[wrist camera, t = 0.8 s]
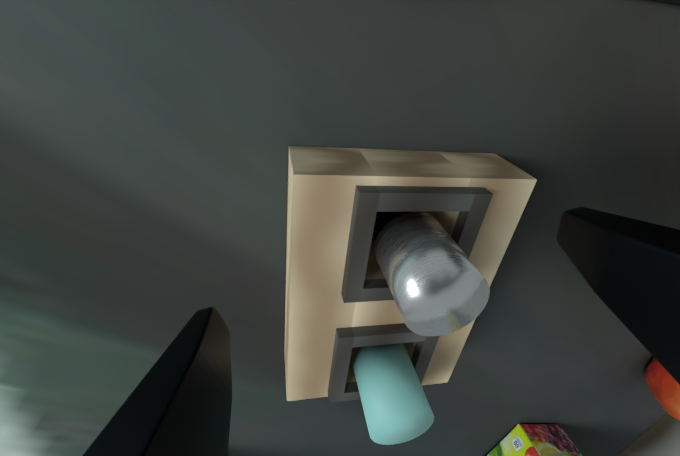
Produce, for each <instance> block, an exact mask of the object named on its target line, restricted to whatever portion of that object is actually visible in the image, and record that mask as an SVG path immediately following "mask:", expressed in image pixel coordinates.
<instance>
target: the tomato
mask: <svg viewBox="0 0 680 456" xmlns="http://www.w3.org/2000/svg"><path fill="white" fill-rule="evenodd" d="M645 379H646V382H647V384H648V386H649V388H650V389H651V391H652V393H653V395H654V397H655V398H656V399H657V401H658V402H659V403H660V404H661V406H662V407H663V408H664V410H665V411H666V412H667V413H668V414H670V415H671V416H672V417H674V418H676V419H677V420H679V421H680V385H679V383H678V382H677V381H676V380H675V379H674V378H673V377H672V376H671V375H670V374H669V373H668V372H667V370H666V369H665V368H664V367H663V366H662V365H661V364H660V363H659V362H658V361H657V360H656V359H655V357H654V358H653V360H652V361H651V363H650V364H649V365H648V367H647V369H646V371H645Z"/></svg>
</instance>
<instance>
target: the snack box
mask: <svg viewBox="0 0 680 456" xmlns="http://www.w3.org/2000/svg"><path fill="white" fill-rule="evenodd" d="M487 456H582V455H581V453H580V452H579V450H578V449H577V448H576V446H575V445H574V444H573V442H572V441H571V440H570V438H569V437H568V436H567V434H566V433H565V431H564V430H563V429H562V427H561V426H560V425H559V424H520V423H519V424H517V426H516V427H515V428H514V429H513V430H512V431H511V432H510V433H509V434H508V435H507V436H506V437H505V438H504V439H503V440H502V441H501V442H500V443H499V444H498V445H497V446H496V447H495V448H494V449H493V450H492V451H491V452H490V453H489V454H488V455H487Z"/></svg>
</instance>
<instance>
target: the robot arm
mask: <svg viewBox="0 0 680 456" xmlns="http://www.w3.org/2000/svg"><path fill="white" fill-rule="evenodd" d="M655 1H661V2H667V3H673V4H680V0H655ZM557 241H558V244H559V246H560V247H561V249H562V250H563V251H564V253H565V254H566V255H567V256H568V258H569V259H570V260H571V262H572V263H573V264H574V266H575V267H576V268H577V270H578V271H579V272H580V274H581V275H582V276H583V278H584V279H585V280H586V282H587V283H588V284H589V286H590V287H591V288H592V289H593V291H594V292H595V293H596V294H597V295H598V297H599V298H600V299H601V300H602V301H603V302H604V303H605V304H606V306H607V307H608V308H609V309H610V310H611V311H612V312H613V313H614V314H615V315H616V316H617V317H618V319H619V320H620V321H621V322H622V323H623V324H624V325H625V326H626V327H627V328H628V329H629V330H630V332H631V333H632V334H633V335H634V336H635V337H636V338H637V339H638V340H639V341H640V342H641V343H642V345H643V346H644V347H645V348H646V349H647V350H648V351H649V352H650V353H651V354H652V355H653V356H654V357H655V359H656V360H657V361H658V362H659V363H660V364H661V365H662V366H663V367H664V368H665V369H666V370H667V372H668V373H669V374H670V375H671V376H672V377H673V378H674V379H675V380H676V381H677V382H678V383H679V385H680V230H678V229H674V228H670V227H665V226H661V225H657V224H653V223H648V222H644V221H640V220H636V219H631V218H627V217H623V216H619V215H614V214H610V213H606V212H601V211H597V210H593V209H589V208H584V207H578V208H574V209H570V210H567V211H565V212H564V213H563V214H562V216H561V220H560V225H559V229H558V234H557ZM231 406H232V371H231V343H230V332H229V328H228V326H227V325H226V323H225V321H224V320H223V318H222V316H221V315H220V313H219V311H218V310H217V309H216V308H215V307H208V308H205V309H201V310H198V311H197V312H196V313H195V314H194V315H193V316H192V318H191V319H190V320H189V321H188V323H187V324H186V325H185V327H184V328H183V329H182V330H181V332H180V333H179V334H178V335H177V337H176V338H175V339H174V340H173V342H172V343H171V344H170V345H169V347H168V348H167V349H166V351H165V352H164V353H163V354H162V356H161V357H160V358H159V359H158V361H157V362H156V363H155V364H154V366H153V367H152V368H151V369H150V371H149V372H148V373H147V374H146V376H145V377H144V378H143V380H142V381H141V382H140V383H139V385H138V386H137V387H136V388H135V390H134V391H133V392H132V393H131V395H130V396H129V397H128V398H127V400H126V401H125V402H124V403H123V405H122V406H121V407H120V409H119V410H118V411H117V412H116V414H115V415H114V416H113V417H112V419H111V420H110V421H109V422H108V424H107V425H106V426H105V427H104V429H103V430H102V431H101V432H100V434H99V435H98V436H97V438H96V439H95V440H94V441H93V443H92V444H91V445H90V446H89V448H88V449H87V450H86V451H85V453H84V454H83V455H82V456H228V444H229V432H230V419H231Z"/></svg>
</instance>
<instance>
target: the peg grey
mask: <svg viewBox="0 0 680 456" xmlns="http://www.w3.org/2000/svg"><path fill="white" fill-rule="evenodd" d="M374 253H375V257H376V259H377V261H378V264H379V266H380V268H381V270H382V273H383V275H384V277H385V279H386V282H387V284H388V286H389V288H390V291H391V293H392V295H393V297H394V300H395V302H396V304H397V306H398V309H399V311H400V313H401V315H402V317H403V320H404V322H405V324H406V326H407V327H408V328H409V329H410V330H411V331H412V332H414V333H416V334H419V335H422V336H441V335H446V334H449V333H452V332H455V331H457V330H459V329H461V328H463V327H464V326H466V325H468V324H469V323H471V322H472V321H473V320H474V319H475V318H476V317H477V316H478V315H479V314H480V313H481V312H482V311H483V309H484V308H485V306H486V304H487V302H488V299H489V295H490V288H489V284H488V282H487V280H486V279H485V278H484V277H483V275H482V274H481V273H480V272H479V270H478V269H477V268H476V267H475V266H474V264H473V263H472V262H471V261H470V260H469V258H468V257H467V256H466V255H465V253H464V252H463V251H462V250H461V249H460V247H459V246H458V245H457V244H456V243H455V241H454V240H453V239H452V238H451V236H450V235H449V234H448V233H447V232H446V230H445V229H444V228H443V227H442V226H441V224H440V223H439V222H438V221H437V220H436V219H435V218H434V217H433V216H431V215H429V214H426V213H420V212H413V213H407V214H403V215H401V216H398V217H396V218H394V219H393V220H391V221H390V222H389V223H387V224H386V225H385V226H384V227H383V228H382V230H381V231H380V232H379V234H378V236H377V238H376V240H375V244H374Z"/></svg>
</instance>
